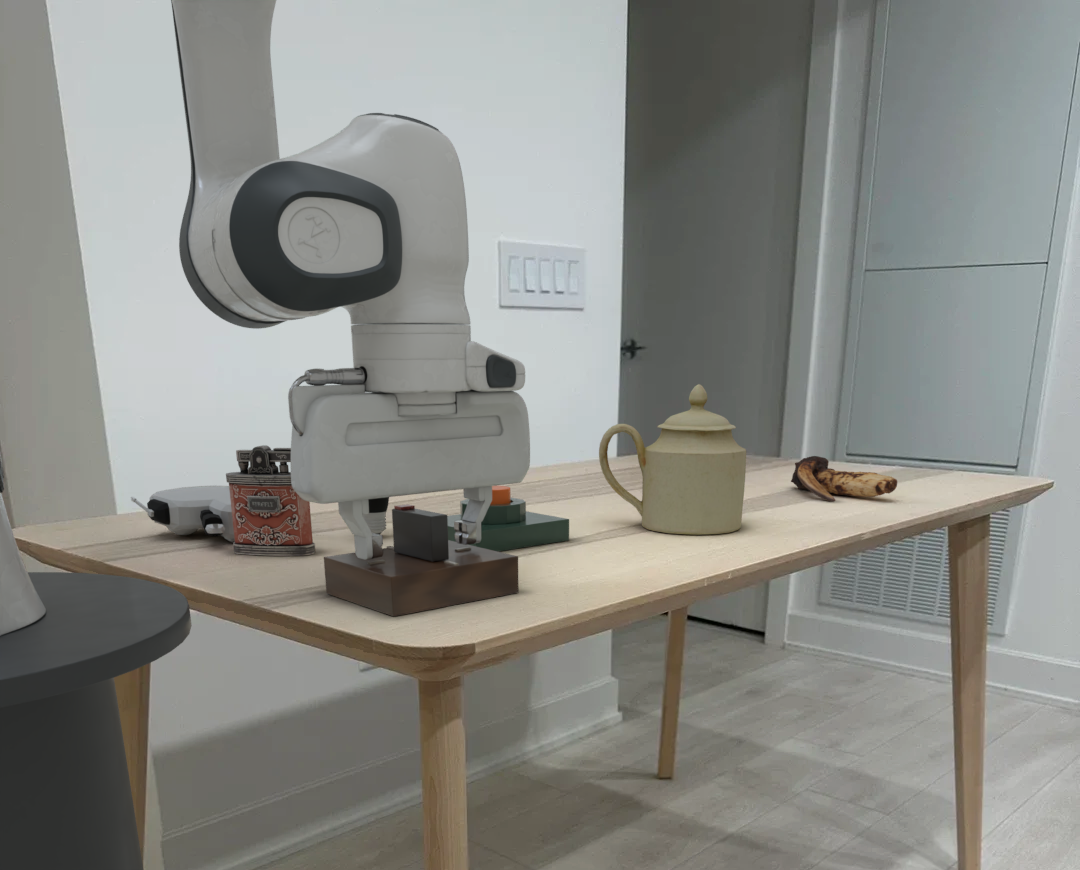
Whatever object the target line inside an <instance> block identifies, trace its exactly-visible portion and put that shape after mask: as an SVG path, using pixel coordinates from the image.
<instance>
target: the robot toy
mask: <svg viewBox="0 0 1080 870" xmlns="http://www.w3.org/2000/svg"><path fill="white" fill-rule="evenodd" d="M130 501H131V502H132V503H134V504H136V505H137V506H139V507H140V508H141V509H142V510H143V511H145V512H146V513H147V517H149V519H150V520H151V521H154V523H156V524H157V525H162V526H164V527H166V528H167V529H168V531H170V532H172V533H174V534H175V535H179V536H189V535H192V534H194V533H195V532H197V530H199V529H200V530H201V529H202V530H203V532H204V533H205V535H206V536H209V537H219V536H221V537H223V538H224V539H225V540H226V541H228V542H230V543H234V542H235V538H234V528H233V519H232V509H231V500H230V490H229V485H217V484H216V485H215V484H214V485H196V486H183V487H182V486H181V487H176V488H175V487H174V488H170V489H164V490H159V491H156V492H154V493H153V494H151V496H150V497H149V501H148V502H147V503H146V506H145V505H144V504H143V503H141V502H140V501H139V500H138V499H137V498H136V497H135V496H131V497H130Z"/></svg>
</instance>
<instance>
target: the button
mask: <svg viewBox="0 0 1080 870" xmlns="http://www.w3.org/2000/svg"><path fill="white" fill-rule="evenodd" d="M511 494H512V493H511V487H510V486H506V485H497V486H492V502H491V504H508V503H511V498H512V497H511Z"/></svg>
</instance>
